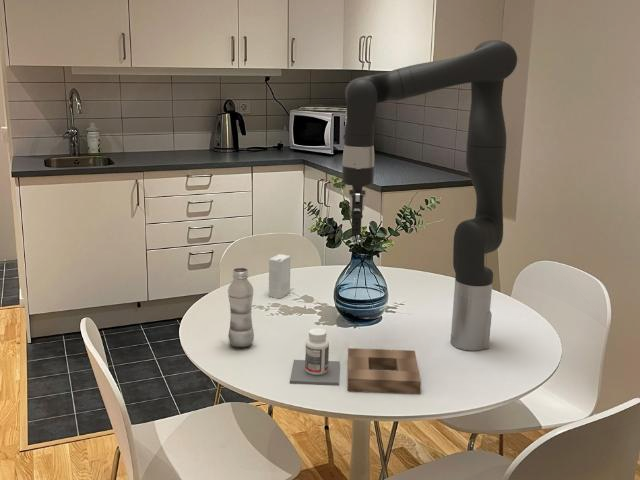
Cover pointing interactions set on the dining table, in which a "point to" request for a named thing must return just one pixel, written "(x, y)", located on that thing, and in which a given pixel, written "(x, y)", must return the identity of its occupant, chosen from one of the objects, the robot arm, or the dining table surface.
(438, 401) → the dining table surface
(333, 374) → the charcoal mat
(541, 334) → the dining table surface
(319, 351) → the pill bottle
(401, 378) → the walnut dock
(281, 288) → the skincare box
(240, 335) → the plastic bottle
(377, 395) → the dining table surface
